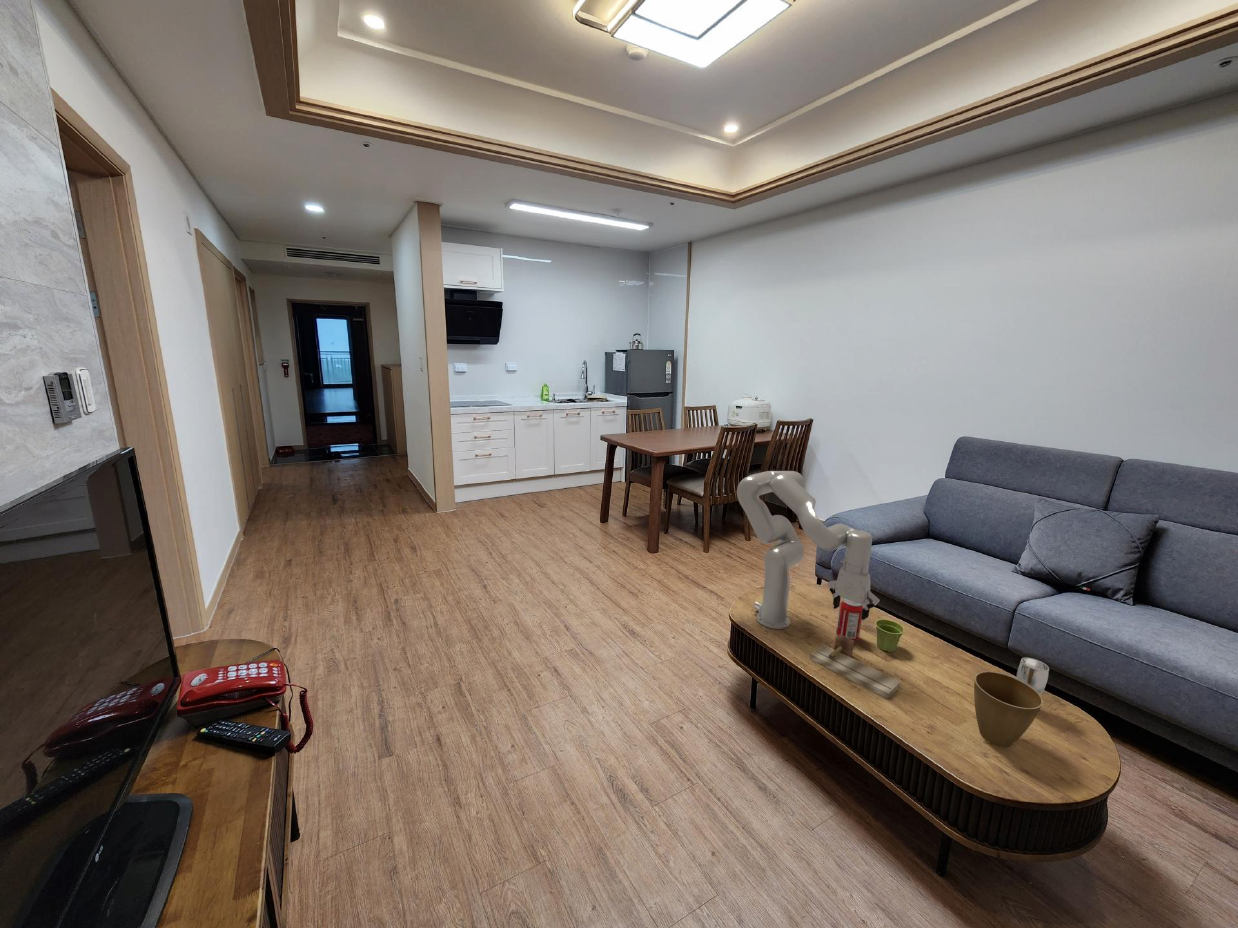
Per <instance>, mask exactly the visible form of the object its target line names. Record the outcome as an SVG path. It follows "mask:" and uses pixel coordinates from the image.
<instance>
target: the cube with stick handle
mask: <svg viewBox="0 0 1238 928" xmlns="http://www.w3.org/2000/svg"><path fill="white" fill-rule="evenodd" d="M834 640H835V641H834V645H833V646H834V647H833V649H834V651H833V652H832V653H830V655H829V657H830V658H832V659H833V658H834V657H835V655H837V654H838V653H839V652H840V653H842V654H844V655H847V656H849V657H851V658H852V657H853V654H854V653H853V651H854V645H855V641H854V640H852V639H849V638H847V637H845V636H843V635H841V634H840V635H839V636H837V635H836V637H835V639H834Z"/></svg>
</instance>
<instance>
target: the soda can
mask: <svg viewBox="0 0 1238 928" xmlns="http://www.w3.org/2000/svg"><path fill="white" fill-rule="evenodd" d="M863 608H864V607H863V605H862V604H860V603H857V602H854V601H851V600H849V599H846V598H844V597H842V600H840V606H839V611H838V617H837V625H836V629H835V630H836V631H835V632H836V637H837V636H839V635H840V634H841V635H843V636H845V637H847V638H849V639H852V640H854V642H857V641H859V639H860V635H861V630H862V629H861V627H862V622H863V620H862V619H861V616H862V609H863Z"/></svg>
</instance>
